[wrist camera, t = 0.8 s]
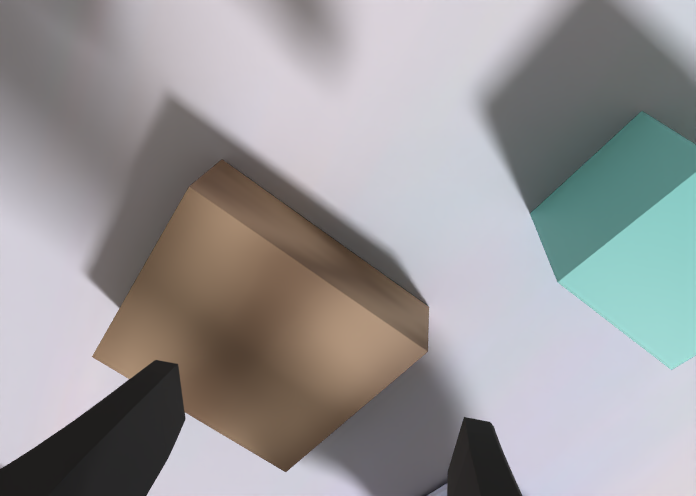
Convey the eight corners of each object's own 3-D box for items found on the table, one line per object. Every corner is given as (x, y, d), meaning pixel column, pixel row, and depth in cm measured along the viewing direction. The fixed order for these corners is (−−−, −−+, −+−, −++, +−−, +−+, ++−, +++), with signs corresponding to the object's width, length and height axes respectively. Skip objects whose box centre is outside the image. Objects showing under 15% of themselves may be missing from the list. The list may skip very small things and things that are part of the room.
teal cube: (737, 197, 17) (840, 269, 13) (619, 284, 19) (671, 370, 15) (640, 110, 16) (715, 156, 12) (529, 212, 19) (557, 282, 14)
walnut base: (429, 307, 21) (427, 351, 19) (300, 424, 27) (285, 472, 24) (221, 159, 19) (189, 186, 17) (128, 317, 25) (91, 356, 22)
